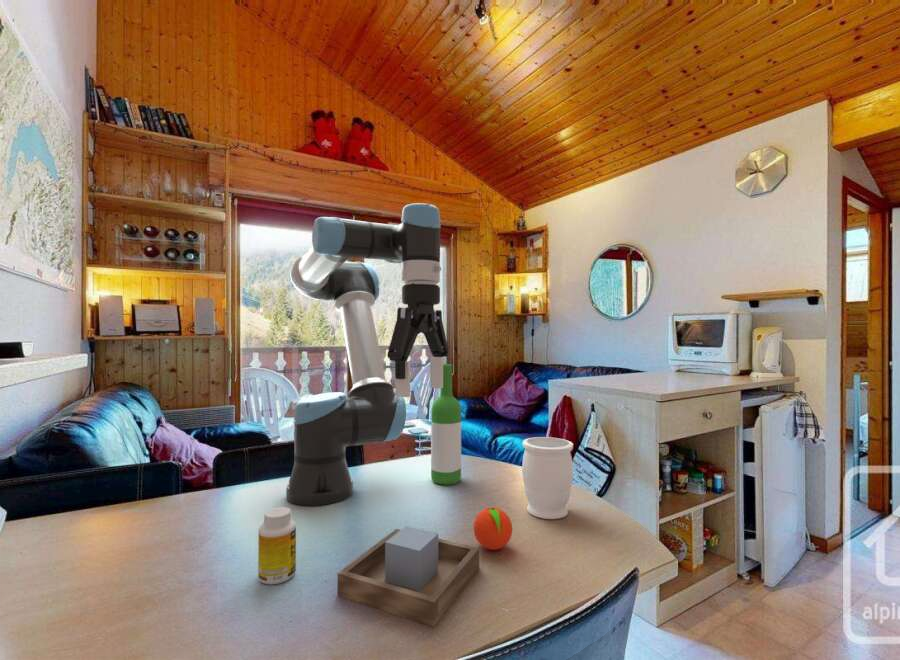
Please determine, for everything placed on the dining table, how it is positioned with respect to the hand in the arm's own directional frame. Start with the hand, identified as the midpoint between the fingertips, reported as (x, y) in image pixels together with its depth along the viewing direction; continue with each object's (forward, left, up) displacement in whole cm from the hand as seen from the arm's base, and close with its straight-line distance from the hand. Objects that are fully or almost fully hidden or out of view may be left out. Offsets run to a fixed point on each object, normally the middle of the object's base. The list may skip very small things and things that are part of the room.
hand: (420, 392), depth 87 cm
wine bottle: (-7, +26, -27) cm, 38 cm away
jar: (+21, +18, -27) cm, 39 cm away
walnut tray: (+8, -17, -27) cm, 33 cm away
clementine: (+16, -2, -27) cm, 31 cm away
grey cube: (+8, -17, -26) cm, 32 cm away
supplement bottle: (-12, -25, -27) cm, 39 cm away
